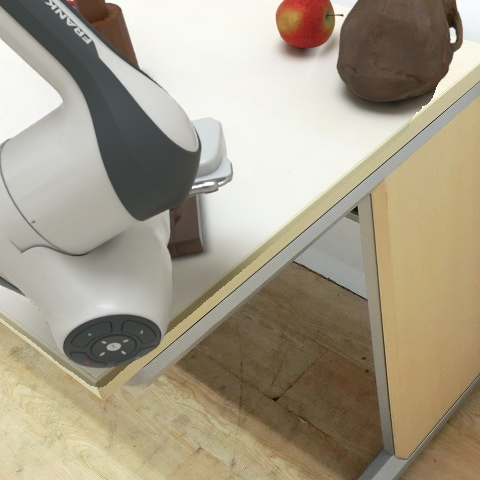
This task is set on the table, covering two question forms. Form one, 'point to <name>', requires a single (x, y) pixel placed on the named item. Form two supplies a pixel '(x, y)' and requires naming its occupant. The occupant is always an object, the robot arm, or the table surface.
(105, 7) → the bottle
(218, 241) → the table surface
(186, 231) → the dark brown square mat
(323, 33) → the apple
